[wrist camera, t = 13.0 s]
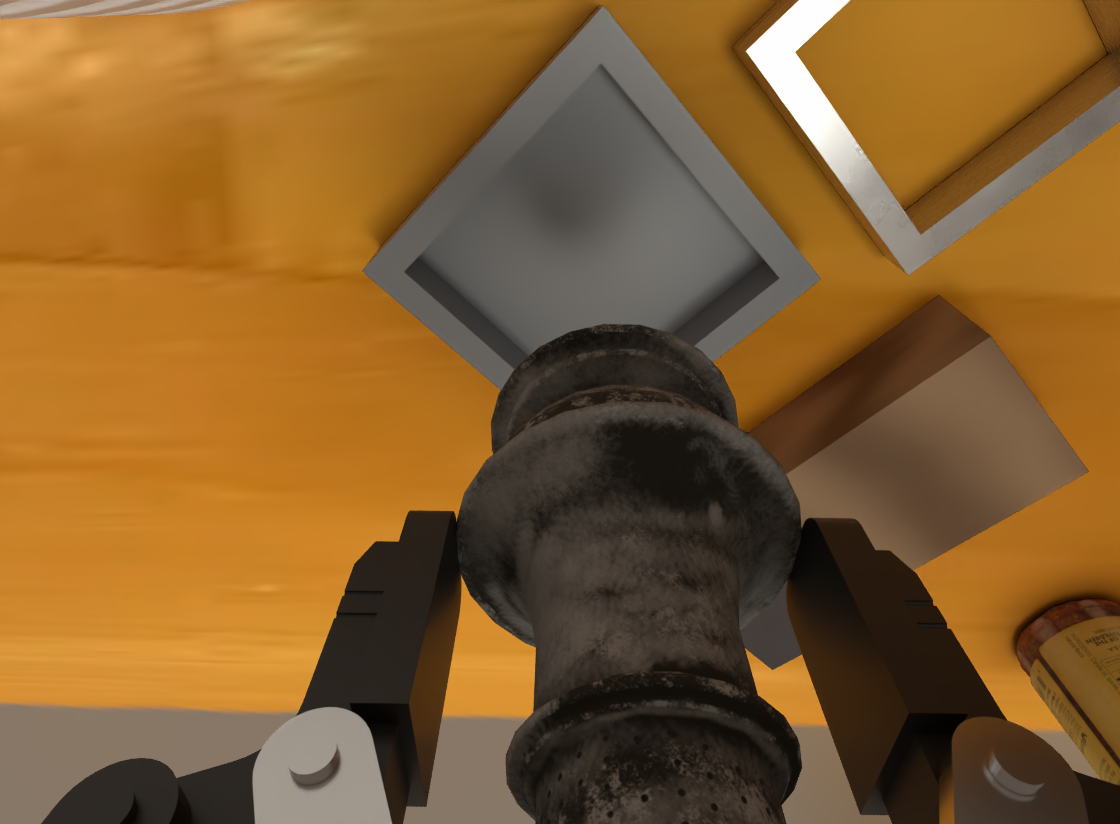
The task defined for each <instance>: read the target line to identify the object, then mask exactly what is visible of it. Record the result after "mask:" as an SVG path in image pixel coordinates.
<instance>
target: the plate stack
mask: <svg viewBox="0 0 1120 824" xmlns="http://www.w3.org/2000/svg"><path fill="white" fill-rule="evenodd" d="M246 1H249V0H0V19H33V18H65V17H93V16H125V15H157V14H177V13H188V12H197V11H204V10H211V9H216V8H221V7H226V6H230V5H235V4H239V3H242V2H246Z"/></svg>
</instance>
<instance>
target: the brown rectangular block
mask: <svg viewBox="0 0 1120 824" xmlns="http://www.w3.org/2000/svg"><path fill="white" fill-rule="evenodd" d="M748 434H750V435H752V436H754V437H755V438H756V439H757V440H758V441H759V442H760V443H761V444H762V445H763V446H764V447H765V448H766V449H767V451H768V452H769V453H770V454H771V455H772V456H773V457H774V458H775V459H776V460H777V461H778V462H779V463H780V464H781V465H782V466H783V468H784V470H785V473H786V475H787V477H788V479H789V481H790V483H791V485H792V488H793V490H794V492H795V494H796V496H797V498H798V501H799V503H800V513H801V527H803V524H804V522H805V521H806V519H808V518H853V519H856V520H858V522H859V523H860V524H861V525H862V527H863V529H864V531H865V532H866V534H867V536H868V538H869V539H870V541H871V543H872V545H873V546H874V548H875V550H890V551H891V552H892V553H893V554H895V555H896V556H897V557H898V558H899V559H900V560H901V561H903V562H904V563H905V564H906V565H907V566H908V567H909V568H911V569H912V570H915V569H916V568H918V567H920V566H922V565H923V564H925V563H927V562H929V561H931V560H932V559H934V558H936V557H938V556H940V555H941V554H943V553H945V552H947V551H948V550H950V549H952V548H954V547H956V546H957V545H959V544H961V543H963V542H964V541H966V540H968V539H970V538H972V537H973V536H975V535H977V534H979V533H981V532H982V531H984V530H986V529H988V528H989V527H991V526H993V525H995V524H997V523H998V522H1000V521H1002V520H1004V519H1005V518H1007V517H1009V516H1011V515H1013V514H1014V513H1016V512H1018V511H1020V510H1022V509H1023V508H1025V507H1027V506H1029V505H1030V504H1032V503H1034V502H1036V501H1038V500H1039V499H1041V498H1043V497H1045V496H1046V495H1048V494H1050V493H1052V492H1054V491H1055V490H1057V489H1059V488H1061V487H1063V486H1064V485H1066V484H1068V483H1070V482H1071V481H1073V480H1075V479H1077V478H1079V477H1080V476H1082V475H1084V474H1086V473H1087V472H1089V471H1088V469H1087V468H1086V467H1085V465H1084V464H1083V462H1082V461H1081V460H1080V458H1079V457H1078V456H1077V454H1076V453H1075V451H1074V450H1073V449H1072V447H1071V446H1070V444H1069V443H1068V442H1067V440H1066V439H1065V438H1064V436H1063V435H1062V433H1061V432H1060V431H1059V429H1058V428H1057V427H1056V425H1055V424H1054V422H1053V421H1052V420H1051V418H1050V417H1049V416H1048V414H1047V413H1046V411H1045V410H1044V409H1043V407H1042V406H1041V404H1040V403H1039V402H1038V400H1037V399H1036V398H1035V396H1034V395H1033V393H1032V392H1031V391H1030V389H1029V388H1028V387H1027V385H1026V384H1025V382H1024V381H1023V380H1022V378H1021V377H1020V376H1019V374H1018V373H1017V371H1016V370H1015V369H1014V367H1013V366H1012V365H1011V363H1010V362H1009V360H1008V359H1007V358H1006V356H1005V355H1004V353H1003V352H1002V351H1001V349H1000V348H999V347H998V345H997V344H996V342H995V341H994V340H993V338H992V337H991V336H990V335H989V334H988V333H986V332H985V331H984V330H982V329H981V328H980V327H979V326H977V325H976V324H975V323H974V322H972V321H971V320H970V319H968V318H967V317H966V316H965V315H963V314H962V313H961V312H960V311H958V310H957V309H956V308H954V307H953V306H952V305H951V304H949V303H948V302H947V301H946V300H944V299H943V298H942V297H940V296H939V295H938V296H937V297H935V298H934V299H932V300H931V301H930V302H928V303H927V304H926V305H924V306H923V307H921V308H920V309H919V310H917V311H916V312H914V313H913V314H912V315H910V316H909V317H908V318H906V319H905V320H903V321H902V322H901V323H899V324H898V325H896V326H895V327H894V328H892V329H891V330H890V331H888V332H887V333H885V334H884V335H883V336H881V337H880V338H878V339H877V340H876V341H874V342H873V343H872V344H870V345H869V346H867V347H866V348H865V349H863V350H862V351H861V352H859V353H858V354H856V355H855V356H854V357H852V358H851V359H849V360H848V361H847V362H845V363H844V364H843V365H841V366H840V367H838V368H837V369H836V370H834V371H833V372H831V373H830V374H829V375H827V376H826V377H825V378H823V379H822V380H820V381H819V382H818V383H816V384H815V385H813V386H812V387H811V388H809V389H808V390H807V391H805V392H804V393H802V394H801V395H800V396H798V397H797V398H795V399H794V400H793V401H791V402H790V403H789V404H787V405H786V406H784V407H783V408H782V409H780V410H779V411H777V412H776V413H775V414H773V415H772V416H771V417H769V418H768V419H766V420H765V421H764V422H762V423H761V424H759V425H758V426H757V427H755V428H754V429H753V430H751V431H750V432H748Z"/></svg>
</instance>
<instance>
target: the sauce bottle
mask: <svg viewBox="0 0 1120 824" xmlns="http://www.w3.org/2000/svg"><path fill="white" fill-rule="evenodd" d="M1016 651H1017V655H1018V659H1019V662H1020V664H1021V667H1022V669H1023V670H1024V671H1025V672H1026V673H1027V675H1028V676H1029V677H1030V679H1031V684H1032V686H1033V687H1034V689H1035V690H1036V691H1037V693H1038V694H1039V696H1040V697H1041V698H1042V700H1043V701H1044V702H1045V703H1046V705H1047V706H1048V708H1049V709H1050V710H1051V712H1052V713H1053V715H1054V716H1055V718H1056V719H1057V720H1058V722H1059V723H1060V725H1061V726H1062V727H1063V729H1064V730H1065V731H1066V733H1067V734H1068V735H1069V737H1070V738H1071V739H1072V740H1073V742H1074V743H1075V744H1076V746H1077V747H1078V749H1079V750H1080V752H1081V753H1082V754H1083V755H1084V757H1085V758H1086V760H1087V761H1088V763H1089V764H1090V765H1091V767H1092V768H1093V769H1094V771H1095V772H1096V774H1097V775H1098V776H1099V778H1100V779H1101V780H1103V781H1106V782H1110V783H1113V784H1116V785H1120V605H1119V604H1117V603H1116V602H1113V601H1109V600H1100V599H1084V600H1080V601H1071V602H1068V603H1064V604H1062V605H1058V606H1055V607H1052V608H1051V609H1050V610H1048V611H1047V612H1045V613H1044V614H1042V615H1041V616H1040V617H1039V618H1037V619H1036V620H1035V621H1034V622H1033V623H1031V624H1030V625H1028V626H1027V627H1026V628H1025V629H1024V631H1023V632H1022V633H1021V634H1020V637H1019V639H1018V641H1017V647H1016Z"/></svg>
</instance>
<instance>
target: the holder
mask: <svg viewBox="0 0 1120 824" xmlns="http://www.w3.org/2000/svg"><path fill="white" fill-rule="evenodd" d="M849 1H850V0H779V1H778V2H777V3H776V4H775V5H774V6H773V7H772V8H771V9H770V10H769V11H768V12H767V13H766V14H765V15H764V16H763V17H762V18H761V19H760V20H759V21H758V22H757V23H756V24H755V25H754V26H753V27H752V28H751V29H749V30H748V31H747V32H746V33H745V34H744V35H743V36H742V37H741V38H740V39H739V40H738V41H737V42H736V43H735V44H734V45H733V46H732V48H733V50H734V51H735V52H736V54H737V55H738V56H739V58H740V59H741V61H742V62H743V63H744V65H745V66H746V67H747V69H748V70H749V72H750V73H751V74H752V76H753V77H754V78H755V80H756V81H757V83H758V84H759V85H760V87H761V88H762V89H763V91H764V92H765V93H766V95H767V96H768V98H769V99H770V100H771V102H772V103H773V104H774V106H775V107H776V109H777V110H778V111H779V113H780V114H781V115H782V117H783V118H784V119H785V121H786V122H787V124H788V125H789V126H790V128H791V129H792V130H793V132H794V133H795V135H796V136H797V137H798V139H799V140H800V141H801V143H802V144H803V146H804V147H805V148H806V150H807V151H808V152H809V154H810V155H811V156H812V158H813V159H814V161H815V162H816V163H817V165H818V166H819V167H820V169H821V170H822V172H823V173H824V174H825V176H826V177H827V178H828V180H829V181H830V182H831V184H832V185H833V187H834V188H835V189H836V191H837V192H838V193H839V195H840V196H841V198H842V199H843V200H844V202H845V203H846V204H847V206H848V207H849V209H850V210H851V211H852V213H853V214H854V215H855V217H856V218H857V219H858V221H859V222H860V224H861V225H862V226H863V228H864V229H865V230H866V232H867V233H868V235H869V236H870V237H871V239H872V240H873V241H874V243H875V244H876V245H877V247H878V248H879V250H880V251H881V252H882V254H883V255H884V256H885V257H886V258H887V259H888V260H890V261H891V262H892V263H893V264H895V265H896V266H897V267H898V268H900V269H901V270H902V271H903V272H905V273H906V274H907V275H910V274H911V273H912V272H914V271H915V270H917V269H918V268H919V267H921V266H922V265H923V264H925V263H926V262H928V261H929V260H930V259H932V258H933V257H934V256H936V255H937V254H938V253H940V252H941V251H943V250H944V249H945V248H947V247H948V246H949V245H951V244H952V243H954V242H955V241H956V240H958V239H959V238H960V237H962V236H963V235H965V234H966V233H967V232H969V231H970V230H971V229H973V228H974V227H976V226H977V225H978V224H980V223H981V222H982V221H984V220H985V219H986V218H988V217H989V216H991V215H992V214H993V213H995V212H996V211H997V210H999V209H1000V208H1002V207H1003V206H1004V205H1006V204H1007V203H1008V202H1010V201H1011V200H1013V199H1014V198H1015V197H1017V196H1018V195H1019V194H1021V193H1022V192H1024V191H1025V190H1026V189H1028V188H1029V187H1030V186H1032V185H1033V184H1034V183H1036V182H1037V181H1039V180H1040V179H1041V178H1043V177H1044V176H1045V175H1047V174H1048V173H1050V172H1051V171H1052V170H1054V169H1055V168H1056V167H1058V166H1059V165H1061V164H1062V163H1063V162H1065V161H1066V160H1067V159H1069V158H1070V157H1072V156H1073V155H1074V154H1076V153H1077V152H1078V151H1080V150H1081V149H1082V148H1084V147H1085V146H1087V145H1088V144H1089V143H1091V142H1092V141H1093V140H1095V139H1096V138H1098V137H1099V136H1100V135H1102V134H1103V133H1104V132H1106V131H1107V130H1109V129H1110V128H1111V127H1113V126H1114V125H1115V124H1117V123H1118V122H1120V0H1083V1H1084V3H1085V5H1086V7H1087V9H1088V11H1089V13H1090V16H1091V18H1092V20H1093V22H1094V24H1095V26H1096V28H1097V30H1098V33H1099V35H1100V37H1101V39H1102V41H1103V43H1104V45H1105V47H1106V50H1107V52H1108V55H1107V56H1105V57H1104V58H1103V59H1101V60H1100V61H1099V62H1098V63H1096V64H1095V65H1094V66H1092V67H1091V68H1090V69H1089V70H1087V71H1086V72H1085V73H1083V74H1082V75H1081V76H1079V77H1078V78H1077V79H1076V80H1074V81H1073V82H1072V83H1070V84H1069V85H1068V86H1066V87H1065V88H1064V89H1063V90H1061V91H1060V92H1059V93H1057V94H1056V95H1055V96H1053V97H1052V98H1051V99H1050V100H1048V101H1047V102H1046V103H1044V104H1043V105H1042V106H1040V107H1039V108H1038V109H1037V110H1035V111H1034V112H1033V113H1031V114H1030V115H1029V116H1027V117H1026V118H1025V119H1024V120H1022V121H1021V122H1020V123H1018V124H1017V125H1016V126H1015V127H1013V128H1012V129H1011V130H1009V131H1008V132H1007V133H1005V134H1004V135H1003V136H1002V137H1000V138H999V139H998V140H996V141H995V142H994V143H992V144H991V145H990V146H989V147H987V148H986V149H985V150H983V151H982V152H981V153H979V154H978V155H977V156H976V157H974V158H973V159H972V160H970V161H969V162H968V163H966V164H965V165H964V166H963V167H961V168H960V169H959V170H957V171H956V172H955V173H953V174H952V175H951V176H950V177H948V178H947V179H946V180H944V181H943V182H942V183H941V184H939V185H938V186H937V187H935V188H934V189H933V190H931V191H930V192H929V193H928V194H926V195H925V196H924V197H922V198H921V199H920V200H918V201H917V202H916V203H915V204H913V205H912V206H911V207H909V208H908V209H907V210H905V211H904V210H903V208H902V207H901V206H900V204H899V203H898V201H897V200H896V198H895V197H894V195H893V194H892V192H891V191H890V190H889V188H888V187H887V185H886V184H885V182H884V181H883V179H882V178H881V177H880V175H879V174H878V172H877V171H876V169H875V168H874V166H873V165H872V163H871V162H870V161H869V159H868V158H867V156H866V155H865V153H864V152H863V150H862V149H861V147H860V146H859V145H858V143H857V142H856V140H855V139H854V137H853V136H852V134H851V133H850V132H849V130H848V129H847V127H846V126H845V124H844V123H843V121H842V120H841V118H840V117H839V116H838V114H837V113H836V111H835V110H834V108H833V107H832V105H831V104H830V102H829V101H828V100H827V98H826V97H825V95H824V94H823V92H822V91H821V89H820V88H819V87H818V85H817V84H816V82H815V81H814V79H813V78H812V76H811V75H810V73H809V72H808V71H807V69H806V68H805V66H804V65H803V63H802V62H801V60H800V59H799V57H798V56H797V55H796V53H795V51H796V50H797V49H798V48H799V47H800V46H802V45H803V44H804V43H805V42H806V41H807V40H808V39H809V38H810V37H811V36H812V35H813V34H814V33H816V32H817V31H818V30H819V29H820V28H821V27H822V26H823V25H824V24H825V23H826V22H827V21H828V20H829V19H831V18H832V17H833V16H834V15H835V14H836V13H837V12H838V11H839V10H840V9H841V8H842V7H843V6H845V5H846V4H847V3H848V2H849Z"/></svg>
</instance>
